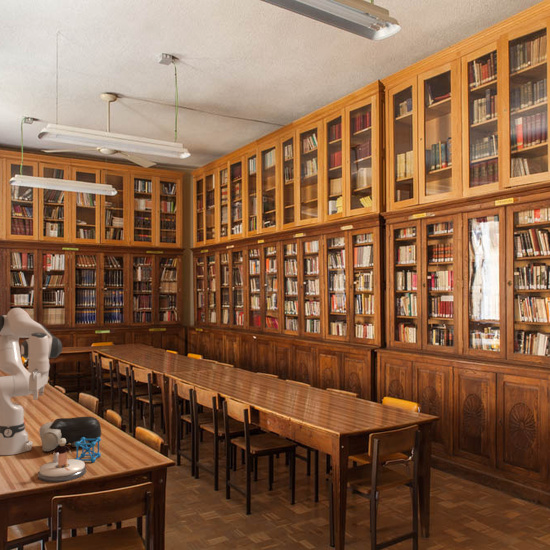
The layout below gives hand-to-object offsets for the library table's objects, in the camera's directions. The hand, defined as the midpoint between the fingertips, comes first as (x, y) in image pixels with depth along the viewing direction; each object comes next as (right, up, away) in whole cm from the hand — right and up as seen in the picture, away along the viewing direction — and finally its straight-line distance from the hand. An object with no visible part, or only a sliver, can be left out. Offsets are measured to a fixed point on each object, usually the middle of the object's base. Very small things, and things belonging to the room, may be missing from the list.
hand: (38, 397), depth 245 cm
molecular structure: (+19, -34, +12) cm, 40 cm away
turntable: (+15, -31, -8) cm, 35 cm away
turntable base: (+15, -33, -8) cm, 37 cm away
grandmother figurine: (+15, -29, -9) cm, 34 cm away
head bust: (+3, -34, +31) cm, 47 cm away
